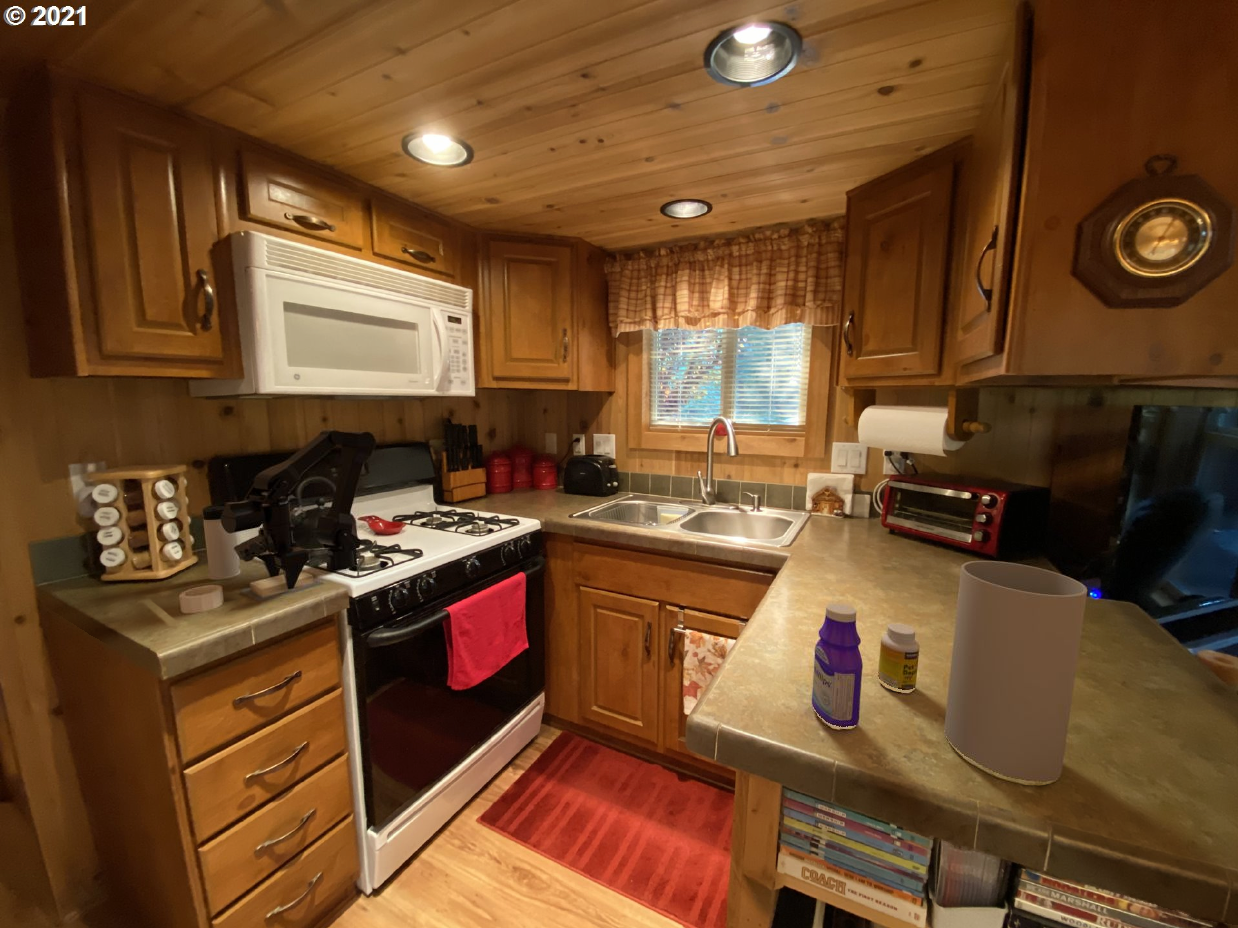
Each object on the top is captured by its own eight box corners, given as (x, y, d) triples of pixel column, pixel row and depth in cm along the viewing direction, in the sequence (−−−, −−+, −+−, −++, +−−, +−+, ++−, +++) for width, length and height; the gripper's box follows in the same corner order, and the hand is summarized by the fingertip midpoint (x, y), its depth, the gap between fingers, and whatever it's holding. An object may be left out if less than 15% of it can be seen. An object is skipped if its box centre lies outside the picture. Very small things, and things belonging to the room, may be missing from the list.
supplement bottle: (902, 699, 77) (908, 639, 76) (870, 681, 82) (874, 624, 81) (922, 689, 80) (928, 631, 79) (890, 672, 85) (894, 617, 84)
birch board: (300, 577, 126) (300, 569, 126) (313, 583, 122) (312, 575, 122) (250, 590, 117) (249, 582, 117) (262, 597, 113) (261, 589, 113)
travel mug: (248, 574, 130) (240, 502, 127) (226, 584, 124) (217, 507, 121) (226, 573, 131) (219, 501, 128) (203, 583, 124) (194, 506, 121)
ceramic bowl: (217, 601, 113) (215, 582, 113) (228, 608, 109) (226, 589, 109) (177, 612, 107) (175, 592, 107) (188, 620, 103) (185, 600, 103)
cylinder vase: (973, 782, 61) (994, 592, 57) (927, 718, 73) (943, 558, 70) (1087, 796, 59) (1116, 600, 55) (1020, 727, 71) (1041, 563, 67)
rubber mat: (302, 577, 129) (302, 573, 128) (324, 587, 122) (324, 583, 122) (239, 594, 117) (239, 590, 117) (259, 606, 110) (259, 602, 110)
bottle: (804, 703, 76) (810, 598, 74) (838, 702, 77) (846, 597, 74) (827, 735, 69) (835, 620, 67) (865, 733, 69) (875, 618, 67)
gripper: (221, 524, 116) (228, 586, 118) (253, 537, 105) (259, 605, 107) (274, 515, 125) (280, 573, 127) (308, 526, 115) (314, 589, 117)
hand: (282, 584), depth 119 cm, fingers open, 9 cm apart
